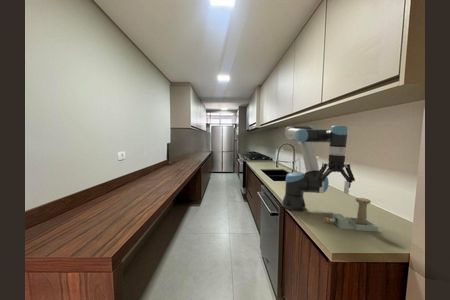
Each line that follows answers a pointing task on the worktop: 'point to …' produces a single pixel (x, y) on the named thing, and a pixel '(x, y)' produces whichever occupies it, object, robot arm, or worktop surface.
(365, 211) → the handle
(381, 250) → the worktop surface
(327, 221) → the lock pin
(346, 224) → the dock
